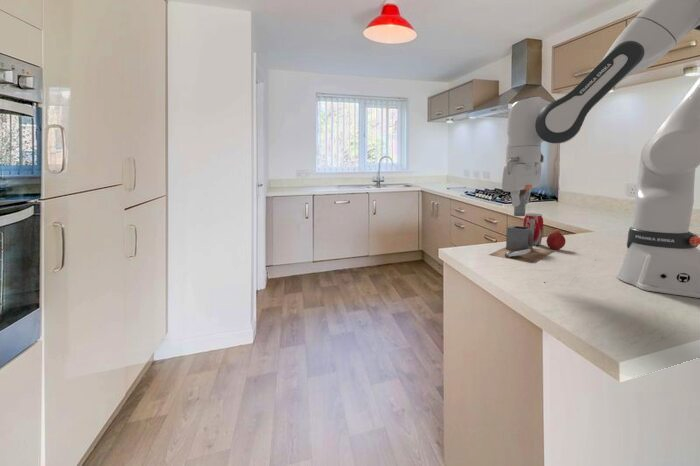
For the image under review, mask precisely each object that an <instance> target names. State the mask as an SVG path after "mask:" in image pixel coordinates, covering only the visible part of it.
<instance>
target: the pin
mask: <svg viewBox="0 0 700 466" xmlns="http://www.w3.org/2000/svg"><path fill="white" fill-rule="evenodd" d="M530 189H531V190H532V189H533V188H532V185H526V186H525V189H524V190H520V194H519V200H520V206H513V208H514V209H513V216H514V217H525V214H526V207H527V206H526V205H527V204H526V190H530Z"/></svg>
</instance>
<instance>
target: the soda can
mask: <svg viewBox="0 0 700 466" xmlns="http://www.w3.org/2000/svg"><path fill="white" fill-rule="evenodd" d="M522 227H531V228H534V238H533V245H537V246H540V245H541V244H542V239H543V229H544V217H543V214H541V213H531V212H530V213H525V216H523V219H522Z"/></svg>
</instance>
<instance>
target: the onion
mask: <svg viewBox="0 0 700 466" xmlns="http://www.w3.org/2000/svg"><path fill="white" fill-rule="evenodd" d="M546 245H547V247H549V249H551V250H555V251H556V250H561V249H562V248H563V247H565V245H566V238H565V237H564V235H563V234H562V233H561V232H560V229H556V230H555V231H553V232H552V233H550V234H549V235H548V236H547V238H546Z"/></svg>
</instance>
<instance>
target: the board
mask: <svg viewBox="0 0 700 466" xmlns="http://www.w3.org/2000/svg"><path fill="white" fill-rule="evenodd" d="M510 251H513V250H506V246H505V247H503V248H500V249H498V250H496V251H494V252H492V253H489V254H488V256H491V257H498V258H504V259H507V260H508V259H510V260H514V261H515V260H516V261H520V262H521V261H522V262H527V263H533V264H537V263H539V262H540V261H541V260H543V259H545V258H546V257H548V256H550V255H551V254H553V253H555V251H554V250H548V249H541V248H535V247H533V249H532V250H531V251H530V252H529V253H527V254H523V255H517V256H511V257H505V254H506V253H508V252H510ZM514 252H515V251H514Z"/></svg>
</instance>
